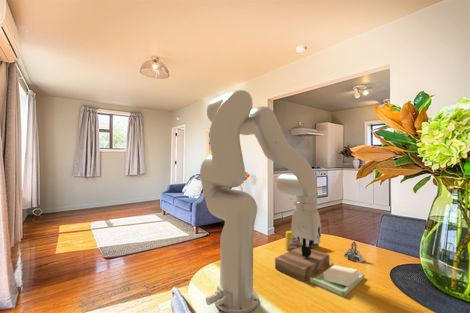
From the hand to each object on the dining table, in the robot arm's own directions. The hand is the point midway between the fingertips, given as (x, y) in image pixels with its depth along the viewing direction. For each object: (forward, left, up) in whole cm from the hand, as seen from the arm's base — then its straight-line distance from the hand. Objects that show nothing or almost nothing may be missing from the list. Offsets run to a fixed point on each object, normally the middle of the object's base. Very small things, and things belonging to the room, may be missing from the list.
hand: (306, 255), depth 85 cm
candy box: (+16, +11, -5) cm, 20 cm away
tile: (0, -12, -1) cm, 12 cm away
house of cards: (+19, -8, -5) cm, 21 cm away
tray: (0, -12, -5) cm, 12 cm away
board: (0, +1, -5) cm, 5 cm away
